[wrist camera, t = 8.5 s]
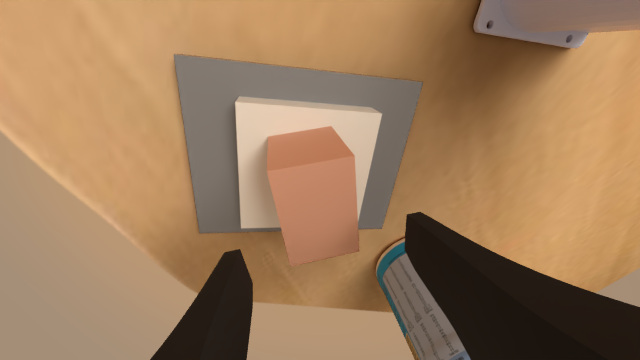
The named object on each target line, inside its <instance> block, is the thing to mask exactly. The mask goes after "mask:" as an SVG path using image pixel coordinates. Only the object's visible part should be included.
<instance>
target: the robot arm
mask: <svg viewBox="0 0 640 360" xmlns="http://www.w3.org/2000/svg"><path fill="white" fill-rule="evenodd" d="M488 22H489V27H488V28H487V23H488ZM473 27H474V31H475V32H477V33H482V34H488V35H494V36H500V37H506V38H512V39H518V40H524V41H530V42H536V43H542V44H548V45H554V46H560V47H566V48H578V47H580V46H581V45H582V44H583V42H584V41H585V39H586V37H587V35H588V33H593V32H611V31H629V30H640V0H482V1H481V4H480V7H479V10H478V13H477V16H476V19H475V22H474V26H473ZM566 38H567V39H566ZM404 250H405V252H406V254H407V256H408V258H409V260H410V262H411V264H412V266H413V267H414V269H415V271H416V273H417V274H418V276H419V277H420V279H421V280H422V282H423V283H424V285H425V286H426V288H427V289H428V291H429V292H430V294H431V295H432V297H433V298H434V300H435V301H436V302H437V304H438V305H439V307H440V308H441V310H442V311H443V313H444V314H445V316H446V317H447V319H448V320H449V322H450V324H451V325H452V327H453V328H454V330H455V332H456V334H457V336H458V337H459V339H460V341H461V343H462V345H463V346H464V348H465V350H466V352H467V354H468V355H469V357H470V359H471V360H640V307H637V306H634V305H630V304H627V303H624V302H621V301H618V300H614V299H611V298H609V297H605V296H602V295H599V294H596V293H593V292H590V291H587V290H584V289H582V288H579V287H576V286H573V285H571V284H568V283H565V282H562V281H560V280H557V279H554V278H552V277H549V276H547V275H544V274H542V273H539V272H537V271H534V270H532V269H530V268H527V267H525V266H523V265H520V264H518V263H516V262H513V261H511V260H509V259H507V258H505V257H503V256H500V255H498V254H496V253H494V252H492V251H490V250H488V249H486V248H484V247H482V246H481V245H479V244H477V243H475V242H473V241H471V240H469V239H467V238H466V237H464V236H462V235H460V234H458V233H457V232H455V231H453V230H451V229H450V228H448V227H446V226H444V225H443V224H441V223H439V222H437V221H436V220H434V219H432V218H430V217H429V216H427V215H425V214H423V213H421V212H417V213H412V214H407V219H406V232H405V245H404ZM252 305H253V283H252V280H251V277H250V275H249V272H248V269H247V267H246V264H245V261H244V259H243V256H242V253H241V251H240V249H239V250H234V251H229V252H225V253H224V254H223V256H222V257H221V259H220V260H219V262H218V264H217V265H216V267H215V269H214V270H213V272H212V274H211V275H210V277H209V278H208V280H207V282H206V283H205V285H204V286H203V288H202V289H201V291H200V292H199V294H198V296H197V297H196V299H195V300H194V302H193V303H192V305H191V306H190V307H189V309H188V310H187V312H186V313H185V315H184V316H183V317H182V319H181V320H180V322H179V323H178V324H177V326H176V327H175V329H174V330H173V331H172V333H171V334H170V335H169V337H168V338H167V339H166V340H165V342H164V343H163V345H162V346H161V347H160V348H159V349H158V351H157V352H156V353H155V354H154V356H153V357H152V358H151V359H150V360H246V358H247V350H248V342H249V334H250V325H251V316H252Z"/></svg>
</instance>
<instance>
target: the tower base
mask: <svg viewBox="0 0 640 360" xmlns="http://www.w3.org/2000/svg"><path fill="white" fill-rule="evenodd" d="M174 60H175V67H176V73H177V80H178V87H179V94H180V101H181V108H182V115H183V122H184V129H185V136H186V143H187V150H188V156H189V163H190V170H191V177H192V184H193V191H194V198H195V205H196V212H197V219H198V226H199V233H232V232H271V231H282V230H281V226H280V222H279V218H278V214H277V210H276V206H275V202H274V198H273V194H272V190H271V186H270V182H269V178H268V174H267V154H268V136H274V135H280V134H286V133H292V132H298V131H304V130H310V129H316V128H322V127H328V126H332V128H333V129H334V130H335V131H336V133H337V134H338V135H339V136H340V138H341V139H342V140H343V142H344V143H345V144H346V145H347V147H348V148H349V149H350V150H351V152H352V153H353V154H354V155H355V172H356V193H357V213H358V229H382V226H383V223H384V219H385V216H386V212H387V209H388V205H389V202H390V198H391V195H392V191H393V188H394V184H395V180H396V177H397V173H398V170H399V166H400V163H401V159H402V156H403V152H404V149H405V145H406V142H407V138H408V135H409V131H410V127H411V124H412V120H413V117H414V113H415V110H416V106H417V103H418V99H419V96H420V92H421V89H422V85H423V82H419V81H413V80H404V79H395V78H386V77H378V76H369V75H360V74H351V73H342V72H333V71H324V70H316V69H307V68H298V67H289V66H280V65H271V64H262V63H253V62H245V61H236V60H227V59H218V58H209V57H200V56H191V55H183V54H174Z"/></svg>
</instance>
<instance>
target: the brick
mask: <svg viewBox="0 0 640 360" xmlns="http://www.w3.org/2000/svg"><path fill="white" fill-rule="evenodd" d="M267 174H268V178H269V182H270V186H271V190H272V194H273V198H274V202H275V206H276V210H277V214H278V218H279V222H280V226H281V230H282V234H283V238H284V242H285V246H286V250H287V254H288V258H289V263H290V266H295V265H299V264H304V263H308V262H313V261H317V260H322V259H326V258H331V257H335V256H340V255H344V254H349V253H354V252H358V251H359V234H358V213H357V193H356V172H355V155H354V154H353V153H352V152H351V150H350V149H349V148H348V147H347V145H346V144H345V143H344V142H343V140H342V139H341V138H340V136H339V135H338V134H337V133H336V131H335V130H334V129H333V128H332V126H328V127H322V128H316V129H310V130H304V131H298V132H292V133H286V134H280V135H274V136H268V154H267Z"/></svg>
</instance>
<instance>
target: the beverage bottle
mask: <svg viewBox="0 0 640 360" xmlns="http://www.w3.org/2000/svg"><path fill="white" fill-rule="evenodd" d="M404 245H405V238H404V239H401V240H399V241H397V242H396V243H394V244H393V245H391V246H390V247H389V248H388V249H387V250H386V251H385V252H384V253H383V254H382V255H381V257H380V259H379V261H378V263H377V266H376V277H377V280H378V282H379V284H380V286H381V288H382V290H383V291H384V293H385V295H386V297H387V300H388V302H389V304H390V306H391V308H392V310H393V313H394V315H395V317H396V319H397V321H398V323H399V326H400V328H401V330H402V332H403V334H404V337H405V339H406V341H407V343H408V345H409V348H410V350H411V352H412V354H413V356H414V359H415V360H471V359H470V357H469V355H468V354H467V352H466V350H465V348H464V346H463V345H462V343H461V341H460V339H459V337H458V336H457V334H456V332H455V330H454V328H453V327H452V325H451V324H450V322H449V320H448V319H447V317H446V316H445V314H444V313H443V311H442V310H441V308H440V307H439V305H438V304H437V302H436V301H435V300H434V298H433V297H432V295H431V294H430V292H429V291H428V289H427V288H426V286H425V285H424V283H423V282H422V280H421V279H420V277H419V276H418V274H417V273H416V271H415V269H414V267H413V266H412V264H411V262H410V260H409V258H408V256H407V254H406V252H405V250H404Z"/></svg>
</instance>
